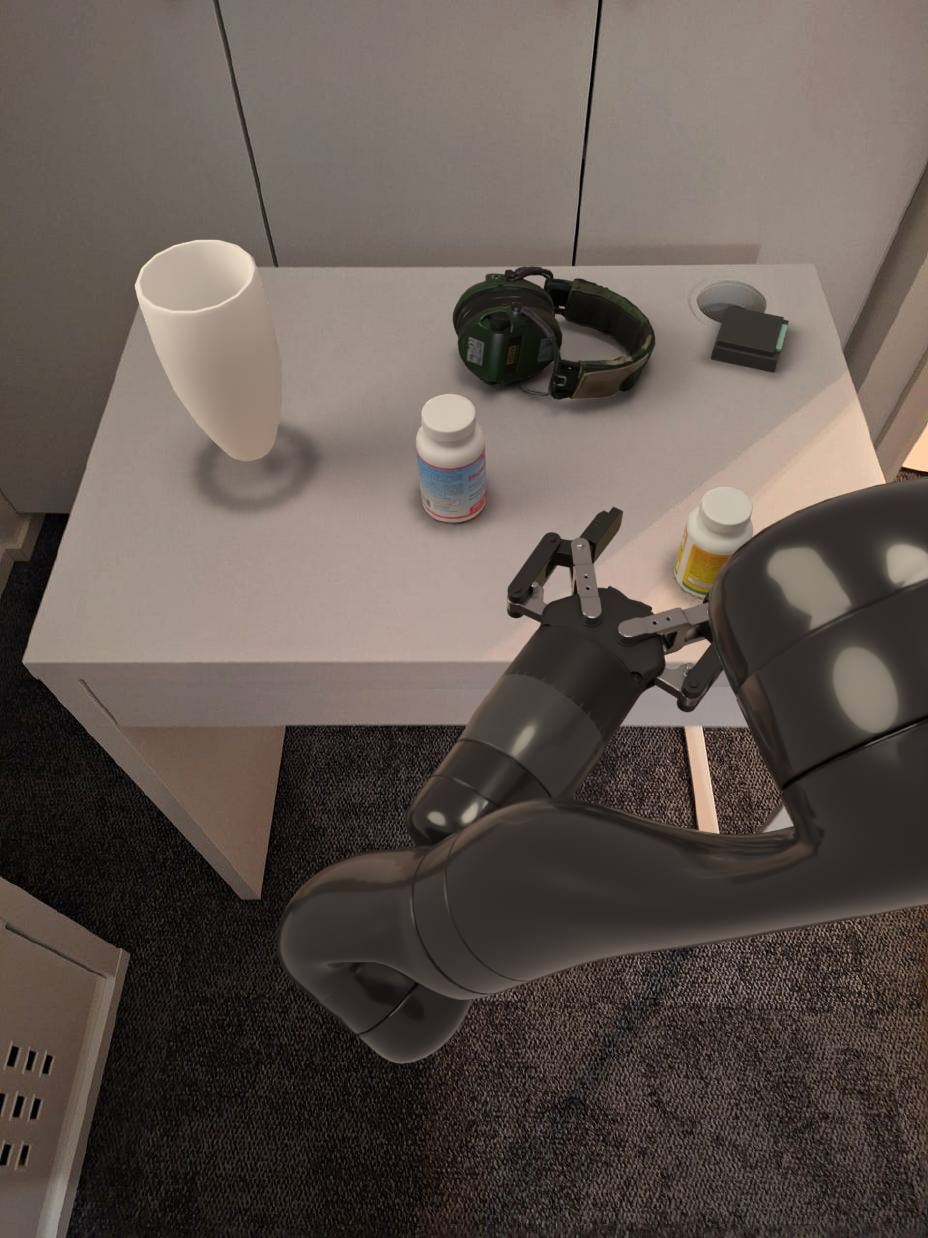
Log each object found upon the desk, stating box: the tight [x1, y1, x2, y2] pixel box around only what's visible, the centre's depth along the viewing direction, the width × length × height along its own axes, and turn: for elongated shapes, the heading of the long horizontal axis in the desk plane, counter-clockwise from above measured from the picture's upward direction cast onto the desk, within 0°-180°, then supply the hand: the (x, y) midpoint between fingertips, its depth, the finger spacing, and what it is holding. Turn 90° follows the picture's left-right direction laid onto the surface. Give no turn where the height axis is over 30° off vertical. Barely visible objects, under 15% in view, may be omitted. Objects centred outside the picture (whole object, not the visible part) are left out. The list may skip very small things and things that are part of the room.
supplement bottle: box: [674, 486, 754, 599], centre depth 77 cm, size 5×5×10 cm
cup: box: [134, 239, 283, 462], centre depth 81 cm, size 10×10×22 cm
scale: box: [710, 305, 790, 373], centre depth 96 cm, size 7×7×2 cm
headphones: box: [452, 265, 656, 401], centre depth 93 cm, size 13×13×20 cm
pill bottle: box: [415, 393, 487, 523], centre depth 82 cm, size 6×6×11 cm
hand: (672, 543), depth 62 cm, fingers open, 8 cm apart
